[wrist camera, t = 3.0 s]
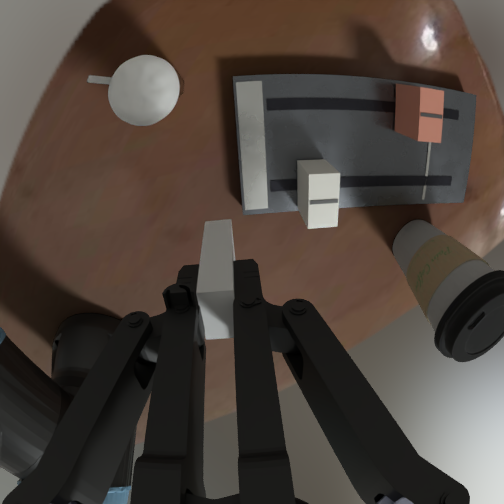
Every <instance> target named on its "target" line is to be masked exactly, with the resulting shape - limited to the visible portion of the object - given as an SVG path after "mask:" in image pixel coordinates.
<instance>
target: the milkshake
mask: <svg viewBox="0 0 504 504" xmlns="http://www.w3.org/2000/svg"><path fill="white" fill-rule="evenodd" d="M87 83H98V84H109V90H108V99H109V103H110V105H111V107H112V109H113V111H114V112H115V114H116V115H117V116H118V117H119V118H120V119H122V120H123V121H125V122H127V123H130V124H132V125H136V126H148V125H152V124H154V123H156V122H158V121H160V120H161V119H163V118H164V117H166V116H167V115H168V114H169V113H170V112H171V111H172V109H173V108H174V106H175V104H176V102H177V100H178V99H179V97H180V96H181V95H182V94H183V89H184V80H183V79H182V77H181V76H180V74H179V73H178V72H177V71H176V70H175V69H174V68H173V67H172V65H171V64H170V63H168V62H167V61H166V60H164V59H162V58H159V57H156V56H152V55H141V56H137V57H134V58H132V59H129V60H127V61H126V62H124V63H123V64H121V65H120V66H119V67H118V69H117V70H116V71H115V73H114V75H113V77H103V76H94V75H89V77H88V79H87Z"/></svg>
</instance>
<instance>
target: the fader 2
mask: <svg viewBox="0 0 504 504" xmlns="http://www.w3.org/2000/svg"><path fill="white" fill-rule="evenodd" d="M443 106H444V91H441V90H436V89H430V88H424V87H417V86H411V85H403V84H396V108H395V132H398V133H400V134H402V135H405V136H407V137H409V138H412V139H414V140H416V141H422V142H435V143H441V136H442V123H443Z"/></svg>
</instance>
